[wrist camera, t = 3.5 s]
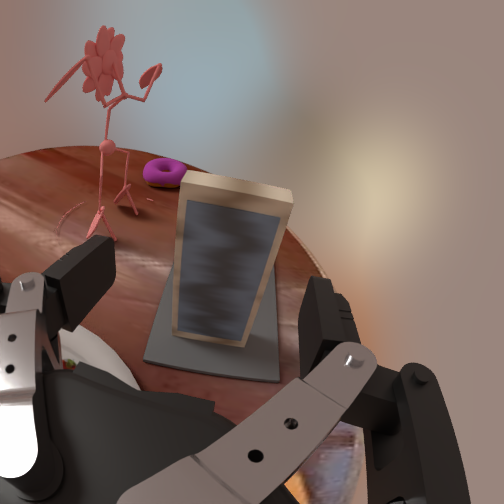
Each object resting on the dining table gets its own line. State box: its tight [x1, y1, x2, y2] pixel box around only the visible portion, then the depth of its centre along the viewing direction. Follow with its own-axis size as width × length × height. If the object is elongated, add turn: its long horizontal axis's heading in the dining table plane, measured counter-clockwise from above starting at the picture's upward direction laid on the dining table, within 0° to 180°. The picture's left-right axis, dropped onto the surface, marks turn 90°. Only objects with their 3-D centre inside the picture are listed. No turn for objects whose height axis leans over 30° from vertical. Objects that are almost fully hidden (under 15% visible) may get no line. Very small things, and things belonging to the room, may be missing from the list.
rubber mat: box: [143, 262, 280, 383], centre depth 42 cm, size 28×16×1 cm, turn 179°
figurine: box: [45, 26, 162, 244], centre depth 39 cm, size 15×26×35 cm, turn 173°
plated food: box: [59, 325, 141, 391], centre depth 18 cm, size 30×30×3 cm
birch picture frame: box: [172, 170, 294, 347], centre depth 29 cm, size 9×3×20 cm, turn 89°
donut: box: [143, 158, 187, 188], centre depth 65 cm, size 11×10×5 cm
